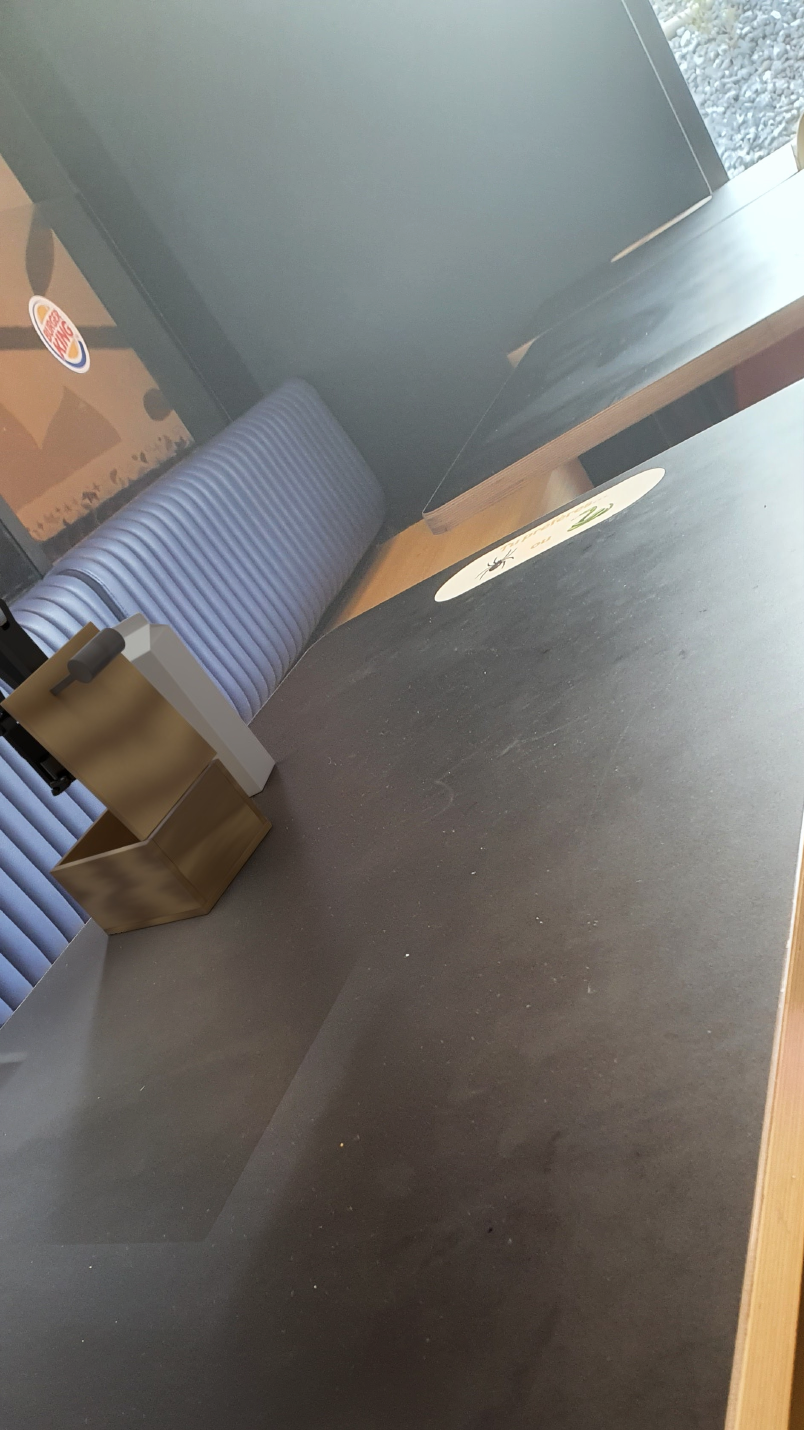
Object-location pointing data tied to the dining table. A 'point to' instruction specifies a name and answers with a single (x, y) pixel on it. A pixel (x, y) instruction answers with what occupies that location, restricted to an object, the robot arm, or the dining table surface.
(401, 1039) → the dining table surface
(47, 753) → the black clip-on device
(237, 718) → the milk
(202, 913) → the chest
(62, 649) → the lid
